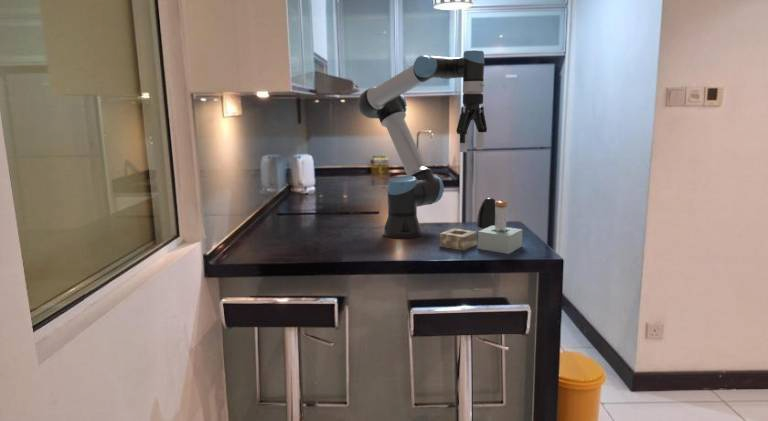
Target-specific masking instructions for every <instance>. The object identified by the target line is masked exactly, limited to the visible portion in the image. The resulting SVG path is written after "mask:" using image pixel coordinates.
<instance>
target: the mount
mask: <svg viewBox="0 0 768 421" xmlns="http://www.w3.org/2000/svg"><path fill="white" fill-rule="evenodd" d="M439 235H440V236H439V238H440V240H439V241H440V242H439V246H440V247H442V248H447V249H453V250H457V251H466V250H468V249H470V248H472V247H475V246H478V231H477V230H476V231H475V230H467V229H460V228H451V229H447V230H446V231H443V232H440V234H439Z"/></svg>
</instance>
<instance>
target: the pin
mask: <svg viewBox="0 0 768 421" xmlns="http://www.w3.org/2000/svg"><path fill="white" fill-rule="evenodd" d="M507 206H508V201H507V200H503V201H500V200H495V232H501V233H505V232H506V227H507V209H508V208H507Z"/></svg>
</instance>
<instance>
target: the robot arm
mask: <svg viewBox="0 0 768 421" xmlns="http://www.w3.org/2000/svg"><path fill="white" fill-rule="evenodd" d="M484 72H485V53H484V51H483V50H481V49H467V50H465V51H463V56H460V57H448V56H434V55H427V54H426V55H420V56H418V57H416V59H415V60H414V63H413V64H412V65H411V66H409V67H408V68H406V69H404V70H403V71H401V72H399V73H398V74H396V75H394V76H392V77H390V78H389V79H387V80H386V81H384V82H383V83H381V84H379V85H378V86H371V87H370V88H368V89H366V90H364V91H362V93H361V94H360V95H359V97H358V99H357V100H358V101H357V106H358V111H359V112H360V113H361V114H362V115H363V116H364V117H366V118H367V119H368V118H369V119H378V120H379V122H380V126H382V127H384V128H386V130H387V132H388V135H389V137H390V138H391V141H392V144H393V146H394V148H395V150H396V153H397V156H398V157H399V159H400V161H401V164H402V167H403V168H404V171H405V173H406V175H403V176H397V177H396V176H395V177H393V178H391V179H389V181H388V182H387V213H388V214H387V220H386V221H385V225H384V228H383V235H384V236H385V237H387V238H390V239H397V240H398V239H405V240H406V239H415V238H418V237H420V236H421V235H422V229H421V226H420V222H419V220H418V216H417V215H418V214H417V213H418V212H417V210H418V207H421V206H422V207H423V206H428V205H429V206H430V205H433V204H436V203H437V202H439V201H440V200H441V199H442V198H443V194H444V191H445V190H444V187H445V186H444V183H443V180H442V179H441V178H440V177H439V176H438V175H434V173H433V171H432V169H431V168H429V167H426V165H425V164H426V163H425V162H424V160H423V158H422V156H421V154H420V151H419V148H418V147H417V144H416V143H415V139H414V138H413V135H412V132H411V131H410V128H409V127H408V124H407V122H406V120H405V119H406V116H407V114H406V112H407V106H408V104H407V100H406V98H405V97H404V95H403V94H405V93H407V92H409V91H410V90H412V89H414V88H416V87H417V86H420V85H421V84H423V83H425V82H427V81H429V80H430V79H433V78H434V79H435V78H436V79H444V80H446V79H447V80H450V79H458V78H461V79H462V80H463V81H462V82H463V83H462V93H464V94H462V104H463V105H465V106H461V108H460V115H459V119H458V123H457V126H456V134H457V135H459V153H467V152H468V134H467V133H468V130H469V127H470V125H471V123H472V121H473V122H474V125H475V127H476V130H477V132H476V141H475V142H476V144H475V146H476V148H475V149H476V150H484V147H485V146H484V141H485V137H484V136H485V133H487V131H488V127H487V121H486V116H485V108H484V106H480V105H482V104H484V94H483V92H484V86H485V84H484V74H485V73H484Z"/></svg>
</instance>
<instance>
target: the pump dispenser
mask: <svg viewBox="0 0 768 421" xmlns="http://www.w3.org/2000/svg"><path fill="white" fill-rule="evenodd" d="M495 201H496V199H494V198H493V197H486V198H485V199H483V202H481V205H480V207H479V209H478V212H477V217H476V224H475V226H476V228H477V232H478V231H481V230H483V229H485V228H488V227H490V226H492V225H494V226H495ZM499 201H504V200H503V199H500V200H499Z"/></svg>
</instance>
